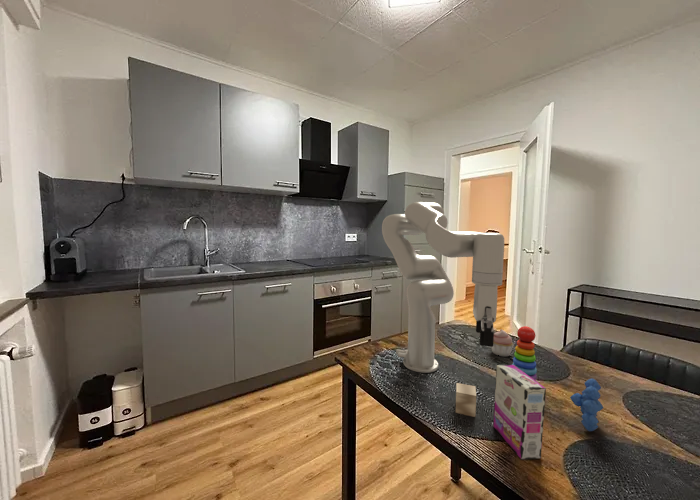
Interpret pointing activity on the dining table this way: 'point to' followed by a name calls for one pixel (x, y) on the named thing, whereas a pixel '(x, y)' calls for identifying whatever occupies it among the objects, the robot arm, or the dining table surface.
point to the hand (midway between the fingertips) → (483, 338)
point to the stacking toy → (525, 352)
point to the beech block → (466, 399)
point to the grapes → (589, 404)
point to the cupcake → (502, 344)
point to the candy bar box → (519, 411)
